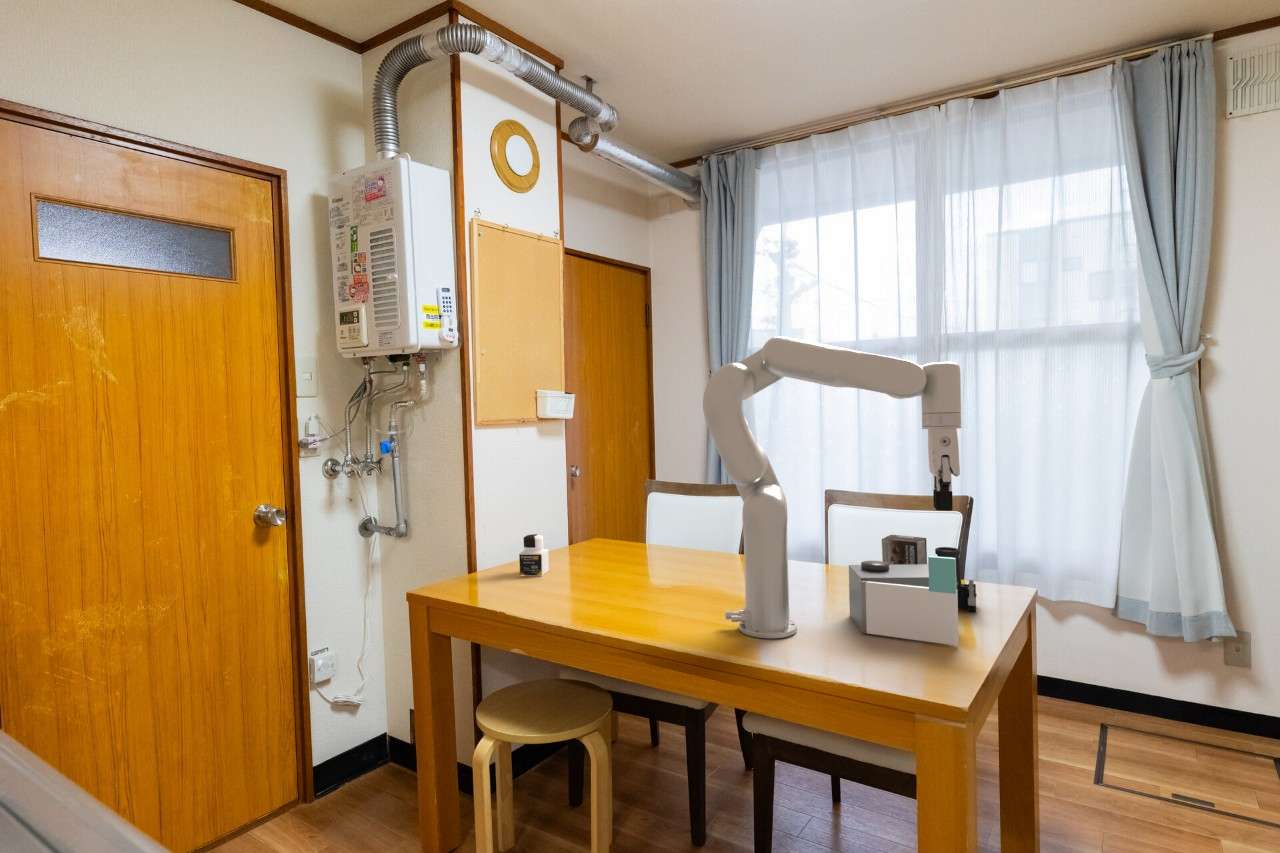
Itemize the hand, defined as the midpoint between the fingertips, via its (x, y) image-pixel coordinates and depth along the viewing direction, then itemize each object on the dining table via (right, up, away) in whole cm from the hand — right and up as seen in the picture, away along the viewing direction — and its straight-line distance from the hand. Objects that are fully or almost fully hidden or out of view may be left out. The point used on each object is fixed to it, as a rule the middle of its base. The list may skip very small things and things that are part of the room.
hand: (943, 508), depth 140 cm
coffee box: (+3, -27, +26) cm, 37 cm away
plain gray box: (-5, -27, +10) cm, 29 cm away
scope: (+12, -27, +21) cm, 36 cm away
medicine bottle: (-96, -29, +67) cm, 121 cm away
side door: (-8, -27, -1) cm, 28 cm away
